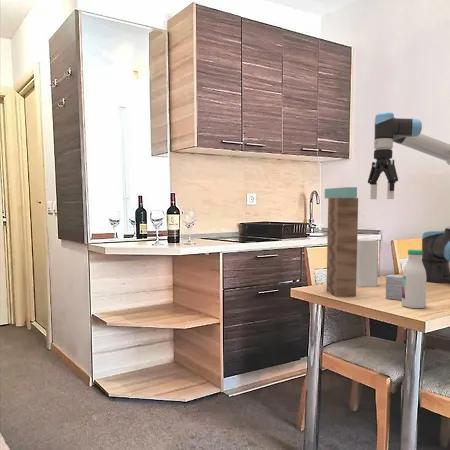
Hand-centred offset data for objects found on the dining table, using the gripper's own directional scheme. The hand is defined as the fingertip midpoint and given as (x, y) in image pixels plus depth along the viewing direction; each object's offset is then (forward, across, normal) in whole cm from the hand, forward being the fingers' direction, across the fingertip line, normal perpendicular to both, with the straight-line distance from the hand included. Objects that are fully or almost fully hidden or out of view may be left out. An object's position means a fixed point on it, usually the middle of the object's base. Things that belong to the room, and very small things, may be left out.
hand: (381, 199), depth 187 cm
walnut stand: (+38, +12, -24) cm, 46 cm away
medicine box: (+38, +24, -6) cm, 46 cm away
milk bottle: (+38, +36, -8) cm, 53 cm away
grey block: (+38, -4, -5) cm, 38 cm away
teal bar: (0, +10, -24) cm, 26 cm away
